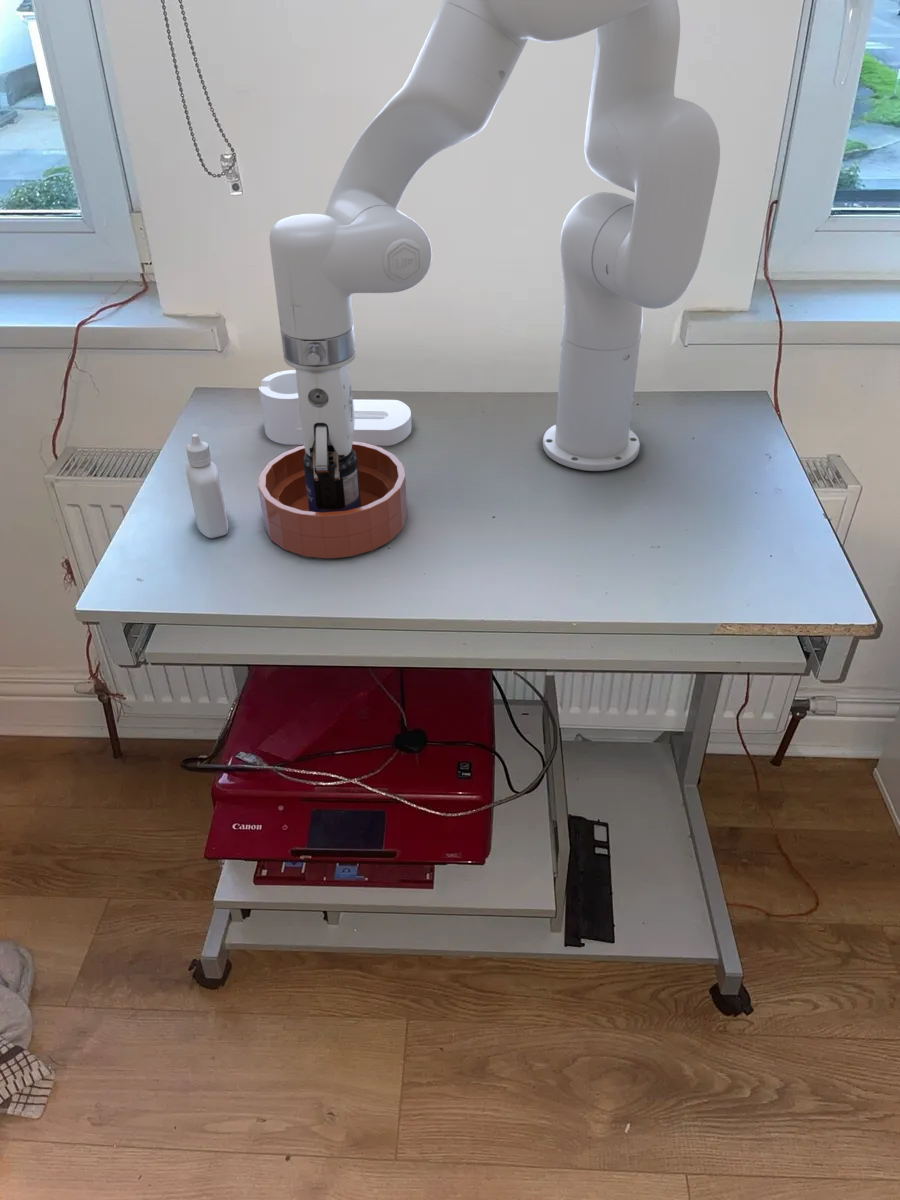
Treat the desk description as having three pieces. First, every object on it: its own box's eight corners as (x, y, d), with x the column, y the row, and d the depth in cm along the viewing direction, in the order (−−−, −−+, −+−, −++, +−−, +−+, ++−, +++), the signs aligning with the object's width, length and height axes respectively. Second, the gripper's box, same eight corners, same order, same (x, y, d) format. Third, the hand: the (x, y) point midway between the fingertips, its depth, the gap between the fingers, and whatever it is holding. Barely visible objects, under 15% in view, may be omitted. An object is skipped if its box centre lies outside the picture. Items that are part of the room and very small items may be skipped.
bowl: (319, 471, 121) (314, 428, 117) (432, 504, 114) (431, 460, 111) (236, 536, 109) (228, 491, 106) (356, 576, 103) (352, 531, 99)
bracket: (259, 444, 126) (252, 398, 122) (271, 413, 133) (265, 369, 129) (409, 445, 126) (407, 399, 121) (413, 415, 132) (411, 370, 128)
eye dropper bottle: (237, 513, 113) (221, 423, 106) (225, 540, 109) (208, 448, 101) (201, 512, 113) (182, 422, 106) (188, 539, 109) (167, 447, 101)
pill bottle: (311, 504, 114) (301, 421, 107) (362, 501, 114) (355, 419, 107) (308, 532, 109) (298, 448, 102) (362, 530, 109) (355, 445, 102)
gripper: (349, 378, 91) (361, 532, 103) (359, 310, 105) (369, 453, 116) (271, 380, 91) (292, 534, 102) (291, 311, 105) (308, 454, 116)
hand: (333, 489), depth 109 cm, fingers closed on pill bottle, 6 cm apart
